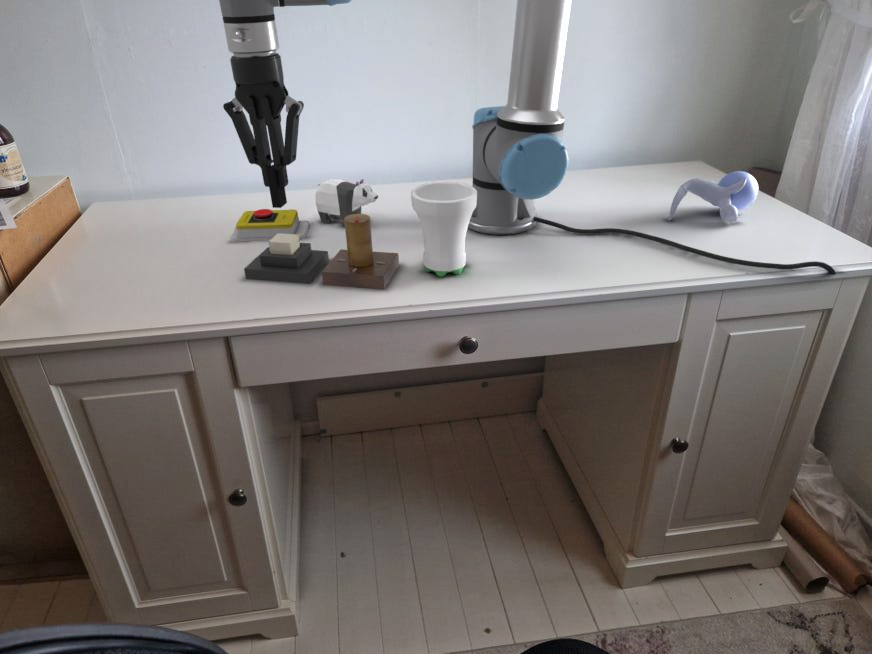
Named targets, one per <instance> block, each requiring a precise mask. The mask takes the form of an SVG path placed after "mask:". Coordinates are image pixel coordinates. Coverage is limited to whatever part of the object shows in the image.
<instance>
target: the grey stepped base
mask: <svg viewBox="0 0 872 654" xmlns="http://www.w3.org/2000/svg"><path fill="white" fill-rule="evenodd" d="M329 262H330V258H329V250H316V249H312V244H311V242H300V248H299V249H298V250H297V251H296V252H295V253H294V254H293V255H282V254H271V253H270V247H269V246H268V247H266V248H265V249H264V250H263V251H262V252H261V253H260V254H259V255H257V256H256V257H255V258H254V259H252V261H251V262H250V263H249V264H247V265H246V266H245V267H244V268H243V269H244V276H245V280H252V281H254V280H255V281H268V282H280V283H281V282H282V283H295V284H308V285H310V284H311V283H312V282H313V281H314V279H315V278H316V277H317V276H318V275H319V273H320V272H322V271H323V270H324V268H325V267H326V266H327V265H328V264H329Z"/></svg>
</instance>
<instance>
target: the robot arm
mask: <svg viewBox="0 0 872 654" xmlns="http://www.w3.org/2000/svg"><path fill="white" fill-rule="evenodd" d="M218 2H219V7H220V12H221V16H222V22H223V27H224V33H225V38H226V39H225V40H226V44H227V50H228V52H229V53H231V54H233V55H232V56H231V57H230V59H229V62H230V66H231V71H232V77H233V81H234V83H235V90H234V97H233V98H232V99H231V100H229V101H227V102H225V103H223V105H222V108H223V110H224V111H225V112H226V114H227V115H228V117H229V118H230V119H231V121H232V124H233V126H234V129H235V132H236V134H237V136H238V139H239V141H240V144H241V146H242V149H243V151H244V153H245V156H246V159H247V161H248V163H249V164H250V165H256V166H258V167H259V168H260V170H261V175H262V180H263V186H265V187H267V188H269V194H270V200H271V207H272V208H273V209H274V208H275V209H282V208H283V207H284V206H285V205H286V204H287V203H288V200H287V193H286V187H287V186H288V185H289V177H288V169H287V166H290V165H291V164H292V163H294V162H295V161H296V160H297V151H298V140H299V139H298V138H299V126H300V125H299V124H300V116H301V114H302V112H303V110H304V107H305V104H304V102H303V101H302V100H298V101H297V100H296V99H295V98H294V97H293V98H292V96H290V95H289V91H288V89H287V88H286V86H285V85H286V84H285V82H284V81H285V79H284V70H283V65H282V57H281V55H280V54H279V53H278V52H277V51H278V50H279V49H280V43H279V42H280V41H279V36H278V30H277V23H276V17H275V8H276V7H279V8H285V7H310V6H311V7H312V6H330V7H333V6H336V5H342V4H343V5H344V4H349V3H351V2H352V0H218ZM572 3H573V0H516V8H515V19H514V29H513V41H512V49H511V51H512V52H511V59H510V60H511V61H510V72H509V82H508V91H507V102H506V104H505V105H499V106H498V105H497V106H487V107H480V108H478V109H476V111H475V112H474V114H473V115H474V116H473V124H472V125H471V126H472V185H471V186H472V187H474V188H475V189H476V191H477V205H476V208H475V209H474V211H473V213H472V215H471V218H470V221H469V224H468V228H467V229H469V230H472V231H474V232H478V233H481V234H486V235H496V236H502V235H503V236H504V235H505V236H506V235H507V236H508V235H516V234H521V233H524V232H527V231H530V230H531V229H533V228H534V227H535V226H536V224H537V223H540V224H544V225H547V226H550V227H554V228H557V229H560V230H562V231H565V232H570V233H572V234H573V233H574V234H583V235H594V234H621V235H627V236H632V237H633V236H634V237H638V238H641V239H645V240H648V241H652V242H657V243H659V244H663V245H665V246H666V245H667V246H668V247H669V246H670V247H672V248H676V249H678V250H681V251H685V252H688V253H691V254H695V255H698V256H702V257H705V258H709V259H712V260H716V261H720V262H724V263H728V264H734V265H739V266H746V267H754V268H763V269H775V270H797V269H804V268H813V267H817V268H822V269H823V270H825V271H827V273H828V274H832V275H836V274H837V272H836V270H835V268H834V267H832V266H831V265H830V264H828V263H826V262H824V261H823V262H822V261H816V260H815V261H814V260H813V261H804V262H798V263H773V262H761V261H753V260H745V259H740V258H735V257H728V256H724V255H720V254H717V253H712V252H709V251H705V250H701V249H698V248H695V247H691V246H689V245H688V246H687V245H685V244H682V243H679V242H677V241H672V240H669V239H668V238H667V239H666V238H664V237H663V238H662V237H659V236H655V235H653V234H647V233H644V232H639V231H635V230H631V229H624V228H613V227H605V228H604V227H603V228H591V229H590V228H575V227H570V226H567V225H564V224H563V223H562V224H561V223H559V222H555V221H553V220H548V219H545V218H542V217H537V210H536V207H535V202H534V200H538V199H541V198H543V197H546V196H548V195H549V194H551V193H552V192H553V191H554V190H555V189H557V188H558V187H559V186H560V185H561V184H562V182H563V180H564V179H565V177H566V175H567V173H568V168H569V154H568V150H567V148H566V146H565V144H564V143H563V134H564V129H565V128H564V127H565V119H566V118H565V116H564V115H563V113H562V112H561V111H560V109H559V107H558V104H559V97H560V90H561V85H562V84H561V83H562V75H563V69H564V60H565V54H566V47H567V38H568V33H569V32H568V31H569V25H570V16H571V11H572ZM284 107H285V112H286V113H287V114H286V118H285V130H284V131H285V133H284V135H283V131H282V115H281V114H282V111H283V109H284ZM244 110H245V112H246V113H247V114H248V118H249V121H248V119H247V115H246V114H245V112H244ZM249 123H250V124H249ZM250 125H251V126H250ZM251 127H252V128H251ZM252 131H253V132H252Z"/></svg>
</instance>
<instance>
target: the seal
mask: <svg viewBox="0 0 872 654" xmlns="http://www.w3.org/2000/svg"><path fill="white" fill-rule="evenodd" d="M688 193H691V194H692V195H694V196H696V197H699V198H700V199H702V200H703V201H706V202H708V203H710V204H711V205H712V206H713V207H719V216H720V218H721V219H722V220H723V221H725V222H728V223H737V224H738V222H737V221H738V220H739V218H740V217H741V215H743V212H741V213H739V211H744V210H745V209H747V208H749V207H750V206H752V204H753V203H754V202H755V201H756V199H757V197H758V194H759V184H758V181H757V180H756V178H755V176H753V175H752V174H750V173H749V172H747V171H742V170H738V171H737V170H736V171H732V172H729V173H727V174H725V175H724V176H723V177H722V178H721V179H720V180H719V181H718V183H716V182H715V181H713V180H709V179H706V178H700V177H699V178H698V177H697V178H692V179H689V180H686V181H685V182H684V183H683V184H681V185H680V186H679V187H678V189H677V191H676V192H675V195H674V196H673V199H672V202H671V205H670V209H669V214H668V218H667V221H669V222H670V221H672V219H673V217H674V216H675V214H676V211H677V208H678V207H679V205H680V203H681V202H682V200H683V199H684V198H685V197H686V196H687V195H688Z"/></svg>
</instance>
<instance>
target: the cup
mask: <svg viewBox="0 0 872 654" xmlns="http://www.w3.org/2000/svg"><path fill="white" fill-rule="evenodd" d="M410 199H411V207H412V209H413V211H414V212H415V214H416V216H417V219H418V221H419V225H420V228H421V232H422V237H423V246H424V247H423V249H424V251H423V254H422V259H423V260H422V261H423V262H422V263H423V268H424V270H425V272H426V273H432V272H434V273H435V275H436V276H438V277H439V278H440V277H441V278H442V277H445V276H446V275H447V274H448V273H452V274H454V275H461V273H462V271H463V269H464V267H465V266H466V265H467V253H466V250H465V249H466V247H465V246H466V245H465V244H466V236H467V231H468V229H469V228H468V224H469V221H470V218H471V215H472V213H473V211H474V209H475V208H476V205H477V191H476V189H475V188H474V187H472V185H470V184H468V183H463V182H458V181H457V182H455V181H433V182H427V183H424V184H420V185H418V186H415V187H414V188H413V189H411V192H410Z"/></svg>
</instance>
